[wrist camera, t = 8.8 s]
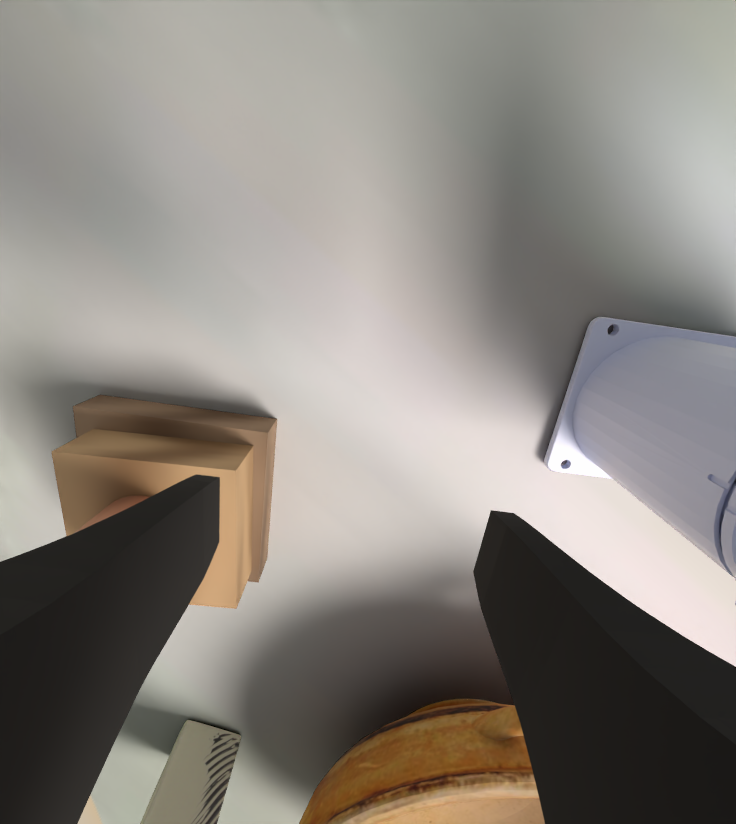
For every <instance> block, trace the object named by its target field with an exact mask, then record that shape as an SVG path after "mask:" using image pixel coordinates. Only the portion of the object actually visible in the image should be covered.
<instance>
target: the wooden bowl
mask: <svg viewBox="0 0 736 824" xmlns="http://www.w3.org/2000/svg"><path fill="white" fill-rule="evenodd" d="M299 824H545V821H544V817H543V812H542V808H541V804H540V800H539V795H538V791H537V787H536V783H535V778H534V775H533V771H532V767H531V763H530V759H529V755H528V751H527V747H526V743H525V739H524V736H523V732H522V728H521V724H520V721H519V718H518V715H517V711H516V708H515V705H506V704H499V703H495V702H491V701H487V700H480V699H452V700H445V701H441V702H437V703H433V704H430V705H427V706H425V707H422V708H420V709H418V710H416V711H415V712H413V713H411V714H409V715H408V716H407V717H404V718H402V719H399V720H397V721H394V722H392V723H389V724H387V725H385V726H383V727H382V728H380V729H378V730H376V731H375V732H373V733H371V734H370V735H368V736H366V737H364V738H363V739H361V740H360V741H359V742H358V743H357V744H355V745H354V746H353V747H352V748H351V749H349V750H348V751H347V752H346V753H345V754H344V755H343V756H342V757H341V758H340V759H339V760H338V761H337V762H336V763H335V764H334V766H333V767H332V768H331V769H330V771H329V772H328V773H327V774H326V775H325V777H324V778H323V779H322V780H321V782H320V783H319V785H318V786H317V788H316V789H315V791H314V793H313V795H312V797H311V800H310V802H309V804H308V806H307V808H306V810H305V812H304V814H303V816H302V819H301V821H300V823H299Z"/></svg>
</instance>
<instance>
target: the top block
mask: <svg viewBox="0 0 736 824" xmlns="http://www.w3.org/2000/svg"><path fill="white" fill-rule="evenodd" d="M253 447H254V446H252V445H243V444H233V443H224V442H214V441H205V440H195V439H186V438H176V437H167V436H157V435H148V434H138V433H129V432H119V431H110V430H100V429H92V430H91V431H89V432H87V433H85V434H83V435H81V436H79V437H78V438H76V439H74V440H72V441H70V442H68V443H67V444H65V445H63V446H61V447H59V448H57V449H55V450H54V451H52V458H53V463H54V469H55V474H56V480H57V486H58V491H59V497H60V502H61V508H62V513H63V519H64V524H65V530H66V535H67V536H69V535H71V534H73V533H74V532H76V531H77V530H78V529H79V528H81V527H82V526H83V525H84V524H86V523H87V522H88V521H89V520H91V519H92V518H93V517H95V516H96V515H97V514H98V513H100V512H101V511H102V510H103V509H105V508H106V507H107V506H108V505H110V504H111V503H112V502H114V501H116V500H118V499H120V498H123V497H127V496H148V497H151V496H153V495H155V494H157V493H159V492H161V491H163V490H165V489H167V488H169V487H171V486H172V485H174V484H176V483H178V482H180V481H182V480H185V479H187V478H189V477H191V476H193V475H196V474H198V475H206V476H214V477H220V524H219V544H218V547H217V549H216V551H215V554H214V556H213V559H212V561H211V563H210V566H209V568H208V570H207V572H206V575H205V577H204V579H203V581H202V582H201V584H200V586H199V588H198V589H197V591H196V593H195V594H194V596H193V598H192V600H191V601H190V603H189V604H190V605H201V606H212V607H224V608H235V609H236V608H237V606H238V603H239V601H240V598H241V596H242V593H243V591H244V588H245V586H246V583H247V581H248V578H249V576H250V573H251V571H252V511H253Z"/></svg>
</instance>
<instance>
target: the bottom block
mask: <svg viewBox="0 0 736 824" xmlns="http://www.w3.org/2000/svg"><path fill="white" fill-rule="evenodd" d="M73 412H74V421H75V429H76V438H78V437H79V436H81V435H83V434H85V433H87V432H89V431H91V430H92V429H100V430H110V431H119V432H129V433H138V434H148V435H157V436H167V437H176V438H186V439H195V440H205V441H214V442H224V443H233V444H243V445H252V446H254V447H253V511H252V571H251V573H250V576H249V578H248V581H251V582H259V579H260V576H261V574H262V571H263V568H264V566H265V563H266V560H267V553H268V539H269V525H270V511H271V497H272V483H273V469H274V455H275V441H276V427H277V419H273V418H266V417H259V416H251V415H244V414H237V413H230V412H222V411H215V410H208V409H200V408H193V407H186V406H178V405H171V404H164V403H157V402H149V401H142V400H135V399H127V398H120V397H113V396H105V395H98V396H96V397H94V398H91V399H89V400H87V401H84V402H82V403H80V404H77V405H75V406H73Z"/></svg>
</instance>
